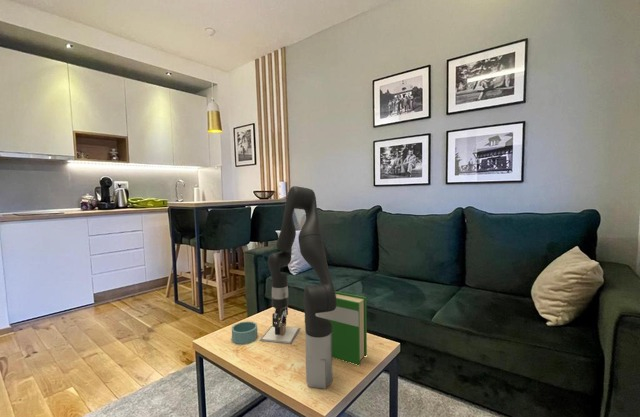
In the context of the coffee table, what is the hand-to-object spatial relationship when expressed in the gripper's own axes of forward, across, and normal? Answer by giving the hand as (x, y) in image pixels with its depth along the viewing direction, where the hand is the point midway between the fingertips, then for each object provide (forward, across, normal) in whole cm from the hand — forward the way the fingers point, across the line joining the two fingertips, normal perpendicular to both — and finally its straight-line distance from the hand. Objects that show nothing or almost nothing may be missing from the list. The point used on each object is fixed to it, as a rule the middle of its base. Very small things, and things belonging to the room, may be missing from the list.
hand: (280, 330), depth 133 cm
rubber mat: (+2, 0, 0) cm, 2 cm away
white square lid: (+2, 0, 0) cm, 2 cm away
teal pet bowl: (+2, -6, +15) cm, 16 cm away
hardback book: (+3, -11, -30) cm, 32 cm away
